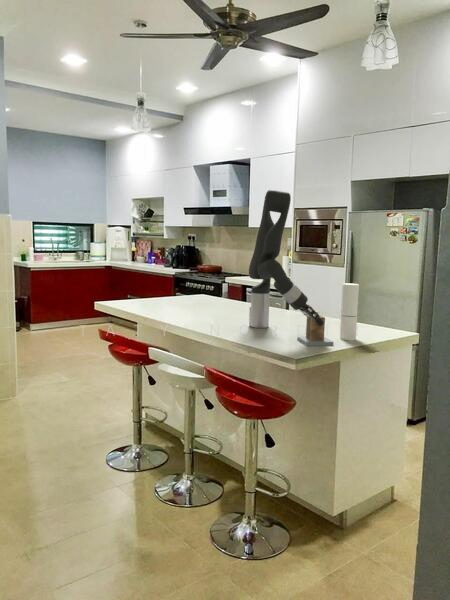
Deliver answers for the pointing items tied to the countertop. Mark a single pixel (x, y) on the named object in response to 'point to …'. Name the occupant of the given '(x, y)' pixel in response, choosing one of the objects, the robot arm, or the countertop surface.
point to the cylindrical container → (349, 311)
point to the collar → (315, 329)
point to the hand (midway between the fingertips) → (318, 322)
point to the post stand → (314, 343)
